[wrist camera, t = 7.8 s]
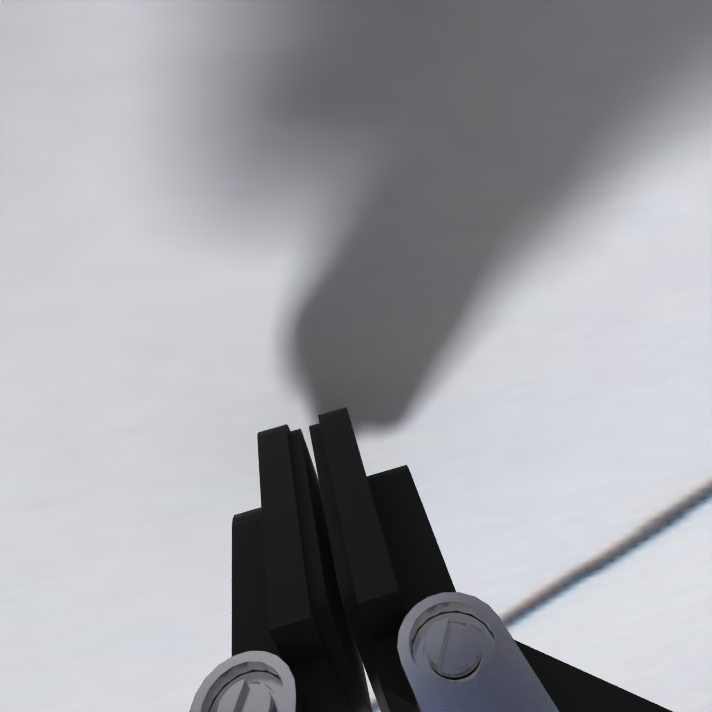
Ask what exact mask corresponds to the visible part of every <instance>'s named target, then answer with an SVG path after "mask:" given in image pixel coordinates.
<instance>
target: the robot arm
mask: <svg viewBox="0 0 712 712" xmlns="http://www.w3.org/2000/svg"><path fill="white" fill-rule="evenodd" d="M318 417H319V422H320V423H319V424H315V425H312V426H309V429H310V435H311V440H312V446H313V451H314V457H315V462H316V468H317V473H318V478H317V475H316V472H315V469H314V466H313V463H312V460H311V457H310V454H309V451H308V448H307V445H306V442H305V440H304V437H303V434H302V431H301V429H298V430H294V431H291V432H290V429H289V427H288V425H287V424H286V425H283V426H279V427H276V428H272V429H269V430H265V431H262V432H258V437H257V438H258V455H259V473H260V490H261V508H257V509H254V510H250V511H247V512H244V513H240V514H237V515H234V517H233V521H232V657H231V658H229V659H227V660H226V661H224V662H223V663H221V664H219V665H218V666H217V667H216V668H215V669H214V670H213V671H212V672H211V673H210V674H209V675H208V676H207V677H206V678H205V680H204V681H203V683H202V684H201V686H200V687H199V689H198V691H197V692H196V694H195V697H194V699H193V702H192V705H191V708H190V711H189V712H372V707H371V702H370V697H369V692H368V687H367V682H366V677H365V672H364V667H365V670H366V672H367V675H368V678H369V681H370V683H371V686H372V689H373V691H374V694H375V697H376V699H377V702H378V705H379V707H380V710H381V712H672V711H670V710H668V709H666V708H664V707H661V706H659V705H657V704H655V703H653V702H650V701H648V700H646V699H644V698H641V697H639V696H637V695H635V694H633V693H630V692H628V691H626V690H624V689H622V688H619V687H617V686H615V685H613V684H611V683H608V682H606V681H604V680H602V679H600V678H597V677H595V676H593V675H591V674H588V673H586V672H584V671H582V670H580V669H577V668H575V667H573V666H571V665H569V664H566V663H564V662H562V661H560V660H558V659H555V658H553V657H551V656H549V655H546V654H544V653H542V652H540V651H538V650H535V649H533V648H531V647H529V646H527V645H524V644H522V643H520V642H518V641H516V640H514V639H513V638H512V636H511V635H510V633H509V632H508V630H507V628H506V627H505V625H504V624H503V622H502V621H501V619H500V617H499V616H498V615H497V614H496V613H495V612H494V611H493V609H492V608H491V607H490V606H489V605H488V604H486V603H485V602H483V601H481V600H480V599H478V598H476V597H475V596H471V595H468V594H464V593H460V592H456V591H455V588H454V585H453V583H452V580H451V577H450V575H449V572H448V570H447V567H446V564H445V562H444V559H443V557H442V554H441V551H440V549H439V546H438V544H437V541H436V538H435V536H434V533H433V531H432V528H431V525H430V523H429V520H428V518H427V515H426V512H425V510H424V507H423V504H422V502H421V499H420V497H419V494H418V491H417V489H416V486H415V484H414V481H413V478H412V476H411V473H410V471H409V468H408V467H407V465H405V466H401V467H398V468H394V469H391V470H387V471H384V472H381V473H377V474H374V475H370V476H367V477H366V473H365V470H364V466H363V463H362V459H361V456H360V452H359V449H358V445H357V442H356V438H355V435H354V431H353V428H352V424H351V421H350V417H349V414H348V410H347V407H346V408H342V409H339V410H335V411H332V412H328V413H325V414H321V415H318ZM318 479H319V480H318ZM363 664H364V667H363Z"/></svg>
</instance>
